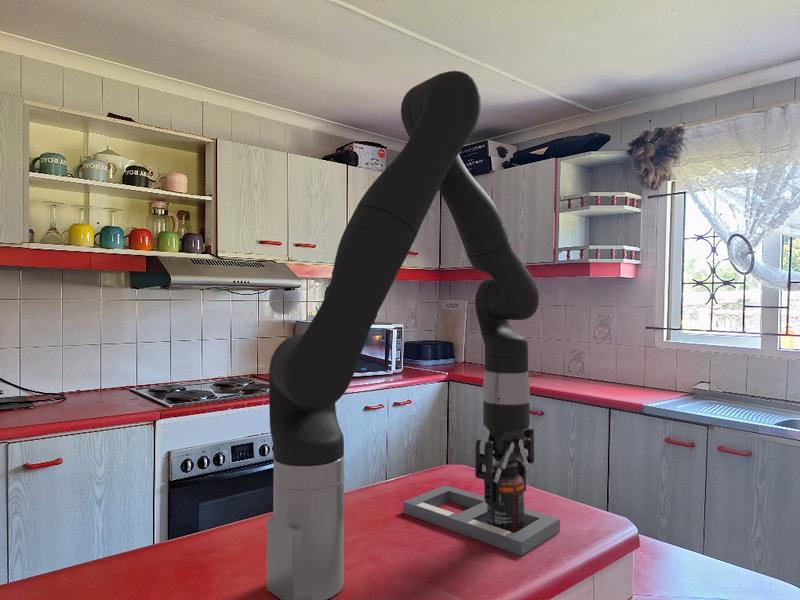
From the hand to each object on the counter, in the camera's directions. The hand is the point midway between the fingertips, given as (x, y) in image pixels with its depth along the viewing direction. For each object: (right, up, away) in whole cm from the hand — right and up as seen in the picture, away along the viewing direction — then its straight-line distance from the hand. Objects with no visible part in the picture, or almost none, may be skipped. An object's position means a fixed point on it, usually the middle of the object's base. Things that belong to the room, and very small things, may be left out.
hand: (506, 497), depth 91 cm
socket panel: (-4, -6, +4) cm, 8 cm away
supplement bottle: (0, -6, 0) cm, 6 cm away
